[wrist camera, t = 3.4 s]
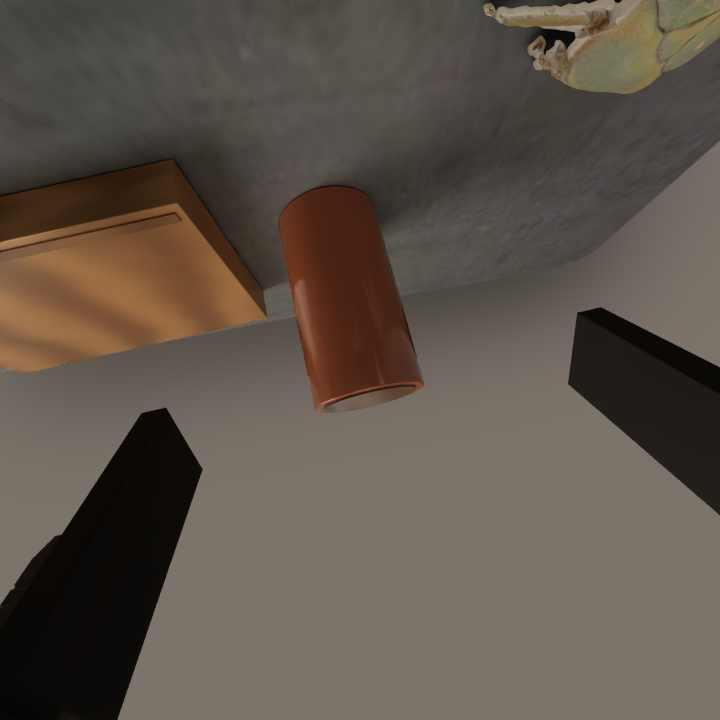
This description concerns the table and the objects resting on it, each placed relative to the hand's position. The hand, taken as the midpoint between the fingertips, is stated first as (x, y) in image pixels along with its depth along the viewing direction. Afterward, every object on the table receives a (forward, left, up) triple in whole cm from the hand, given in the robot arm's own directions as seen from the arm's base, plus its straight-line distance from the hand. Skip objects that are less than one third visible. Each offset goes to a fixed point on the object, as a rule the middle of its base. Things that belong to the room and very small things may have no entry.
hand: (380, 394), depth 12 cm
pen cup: (0, -9, -13) cm, 16 cm away
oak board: (-17, -9, -13) cm, 23 cm away
